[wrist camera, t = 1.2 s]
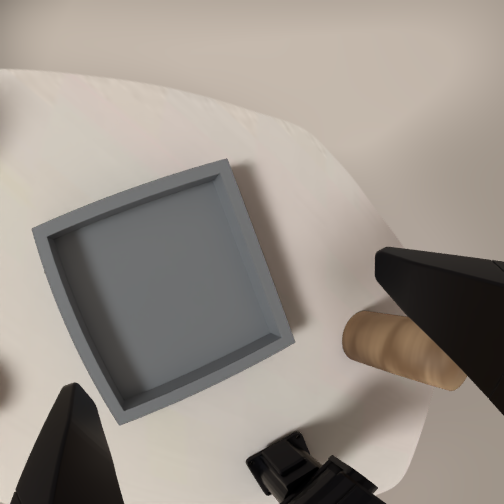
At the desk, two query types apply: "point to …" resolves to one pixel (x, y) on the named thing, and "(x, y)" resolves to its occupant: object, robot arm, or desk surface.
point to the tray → (163, 289)
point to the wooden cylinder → (399, 349)
